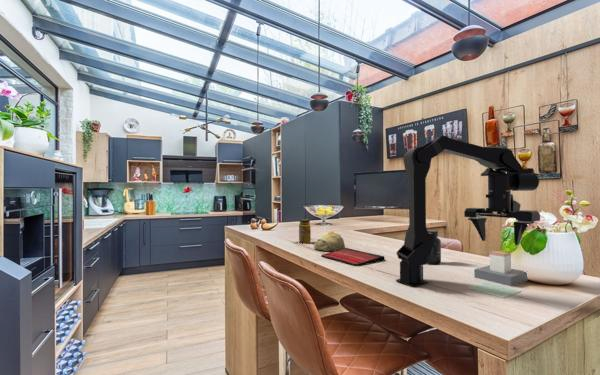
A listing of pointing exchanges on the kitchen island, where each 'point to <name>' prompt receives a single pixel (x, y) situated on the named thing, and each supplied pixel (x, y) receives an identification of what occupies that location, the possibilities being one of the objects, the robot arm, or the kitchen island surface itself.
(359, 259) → the binder
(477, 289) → the mat
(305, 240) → the condiment
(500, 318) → the kitchen island surface
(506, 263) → the plug
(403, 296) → the kitchen island surface
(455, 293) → the kitchen island surface
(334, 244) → the tan lumpy mound
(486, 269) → the grey square socket block
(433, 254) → the supplement bottle
